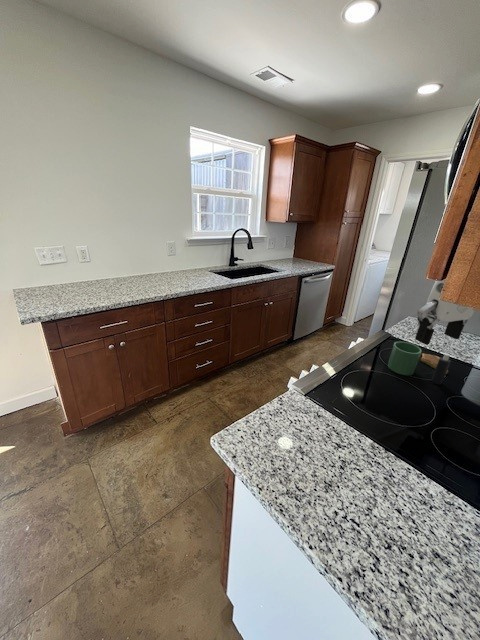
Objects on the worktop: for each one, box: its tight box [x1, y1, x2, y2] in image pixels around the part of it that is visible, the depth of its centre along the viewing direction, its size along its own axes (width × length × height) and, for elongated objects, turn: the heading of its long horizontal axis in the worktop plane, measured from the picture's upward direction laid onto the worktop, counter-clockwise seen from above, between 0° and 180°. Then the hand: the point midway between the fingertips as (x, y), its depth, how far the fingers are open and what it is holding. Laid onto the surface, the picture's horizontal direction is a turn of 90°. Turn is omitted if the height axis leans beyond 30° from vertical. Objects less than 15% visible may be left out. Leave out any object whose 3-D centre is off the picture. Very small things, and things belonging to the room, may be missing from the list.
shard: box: [420, 352, 449, 375], centre depth 100 cm, size 11×8×2 cm
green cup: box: [387, 341, 422, 376], centre depth 96 cm, size 9×9×9 cm
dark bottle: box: [430, 352, 452, 385], centre depth 89 cm, size 3×3×11 cm
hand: (436, 339), depth 64 cm, fingers open, 9 cm apart
